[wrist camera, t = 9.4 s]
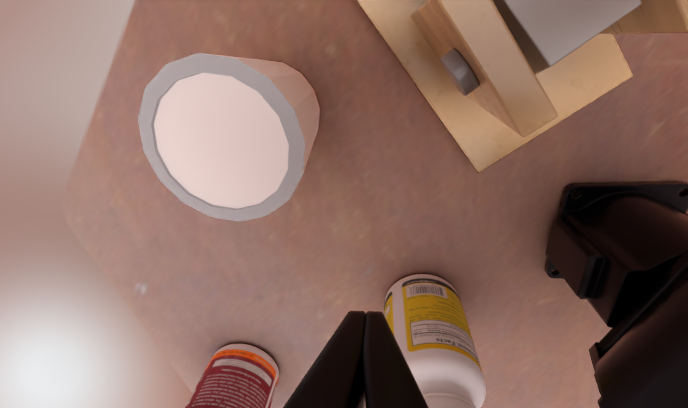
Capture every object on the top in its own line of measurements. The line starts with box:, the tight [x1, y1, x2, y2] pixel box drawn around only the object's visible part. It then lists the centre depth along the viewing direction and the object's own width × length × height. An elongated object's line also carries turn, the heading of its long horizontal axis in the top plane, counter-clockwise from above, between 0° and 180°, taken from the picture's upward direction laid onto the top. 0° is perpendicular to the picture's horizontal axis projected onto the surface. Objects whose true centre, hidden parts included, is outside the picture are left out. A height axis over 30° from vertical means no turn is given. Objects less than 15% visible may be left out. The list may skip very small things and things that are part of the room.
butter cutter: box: [357, 0, 688, 173], centre depth 12 cm, size 13×8×10 cm, turn 40°
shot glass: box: [138, 53, 320, 222], centre depth 16 cm, size 7×7×7 cm
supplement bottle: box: [384, 274, 486, 408], centre depth 20 cm, size 5×5×10 cm
